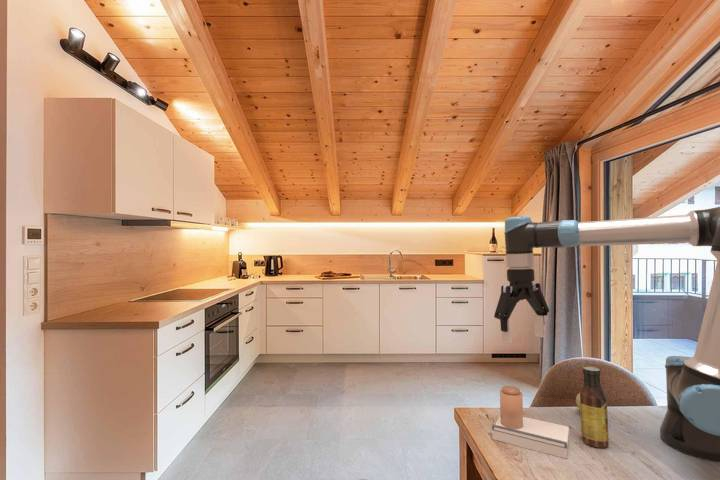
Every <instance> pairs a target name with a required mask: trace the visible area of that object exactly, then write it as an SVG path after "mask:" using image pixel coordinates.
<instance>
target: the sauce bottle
mask: <svg viewBox="0 0 720 480" xmlns="http://www.w3.org/2000/svg"><path fill="white" fill-rule="evenodd" d="M582 373H583V386H582V387H581V389H580V391H579V393H580V410H579V413H580V427H581V429H580V431H581V438H582V441H583V443H585V444H587V445H588V446H591V447H594V448H602V449H605V448H606V447H608V446H609V440H610V437H609V419H608V415H609V414H608V404H607V402H608V401H607V398H606V395H605V392H604V391H603V390H604V389H603V388H602V386H601V370H600V368H598V367H594V366H583V367H582Z"/></svg>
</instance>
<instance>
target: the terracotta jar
mask: <svg viewBox="0 0 720 480" xmlns="http://www.w3.org/2000/svg"><path fill="white" fill-rule="evenodd" d="M523 401H524V400H523V393H522V391H521V390H520V388H519V387H517V386H514V385H504V386H502V388H500V390H499V410H500V414H499V416H500V417H501V424H502V425H503V426H505V427H507V428H511V429H521V428H523V417H524V404H523Z"/></svg>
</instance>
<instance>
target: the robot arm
mask: <svg viewBox="0 0 720 480" xmlns="http://www.w3.org/2000/svg"><path fill="white" fill-rule="evenodd" d="M503 235H504V242H505V243H504V244H505V258H506V259H505V261H506V268H507V270H506V281H507V282H509V285H501V287H500V295H499V299H498V302H497V305H496V308H495V311H494V317H493V318H495V319H497V320H499V321H500V331H501V334H502V335H501V337H502V338H501V339H502V343H506V344H509V345H511V344H513V339H512V338H513V337H512V320H509V319H510V318H511V315H512V313H513V311H514V310H515V307H516V306H517V303H519V302H520V301H523V300H526V301H527V303H528V304H529V305H530V307H531V308H532V310H533V311H534V313H535V314H533V322H534V323H533V324H534V336H535V337H538V338H546V336H545V317H546V316H548V315H549V312H550V309H549V307H548V306H549V305H548V304H547V301H546V300H545V299H546V298H545V297H544V294H543V292H542V288H541V287H542V286H541V284H540V283H538V282H534V281H535V279H536V277H535V269H534V268H533V267H534V266H535V260H534V249H539V248H556V249H557V248H559V249H561V248H573V247H574V248H576V247H599V246H601V247H602V246H603V247H604V246H631V245H655V244H656V245H657V244H658V245H661V244H663V245H664V244H665V245H666V244H689V245H691V246H693V247H711V248H710V253H711V255H713V256H714V257H715V259H716V260H717V261H716V266H715V269H714V273H713V278H712V282H711V284H710V285H711V286H710V289H709V294H708V297H707V302H706V306H705V310H704V314H703V319H702V322H701V327H700V331H699V334H698V339H697V343H696V346H695V351H694V354H693V355H694V356H684V355H669V356H667V357H666V358H665V365H664V368H665V378H666V381H665V382H666V402H667V404H666V405H667V411H666V413H665V415H664V417H663V420H662V422H661V424H660V427H659V428H660V429H659V435H660V437H659V438H661V440H662V442H664V444H666V445H667V446H669V447H671V448H673V449H674V450H676V451H678V452H681V453H683V454H686V455H689V456H692V457H695V458H698V459H702V460H705V461H706V460H707V461H712V462H719V463H720V206H716V207H713V208H712V207H711V208H707V209H698V210H697V209H696V210H691V211H689V212H688V213H687V214H680V215H677V214H676V215H665V216H663V215H662V216H652V217H651V216H650V217H637V218H624V219H623V218H620V219H607V220H605V219H604V220H594V221H593V220H592V221H579V222H578V220H575V219H563V220H553V221H543V222H535V221H534V222H533V220H532V218H531V216H528V215H527V216H525V215H524V216H512V217H507V218H506V219H505V221H504V234H503Z"/></svg>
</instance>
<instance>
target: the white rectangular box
mask: <svg viewBox="0 0 720 480" xmlns="http://www.w3.org/2000/svg"><path fill="white" fill-rule="evenodd" d="M491 428H492V429H491V431H492V433H491V435H492V436H491V437H492V440H494V441H498V442H502V443H505V444H509V445H514V446H517V447H521V448H525V449H529V450H532V451H537V452H539V453H544V454H547V455H551V456H555V457H559V458H563V459H568V456H569V455H568V453H569V443H570V442H569V441H570V427H569V426H566V425H563V424H562V425H561V424H558V423H553V422H549V421H544V420H540V419H535V418H530V417H526V416H523V428H521V429H511V428H507V427H505V426H503V425H502V424H501V417H500V415H499V416H498V418H497V421H496V422H495V424H492V426H491Z"/></svg>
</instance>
